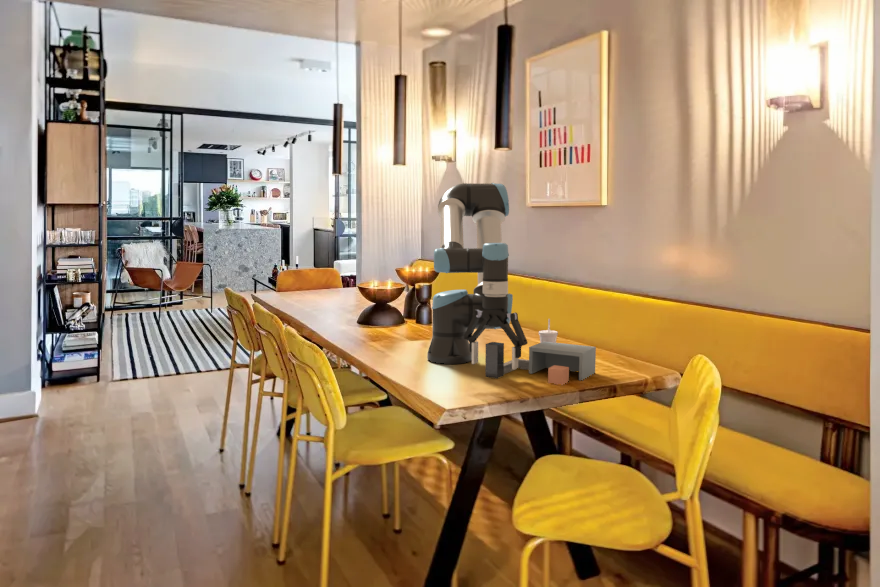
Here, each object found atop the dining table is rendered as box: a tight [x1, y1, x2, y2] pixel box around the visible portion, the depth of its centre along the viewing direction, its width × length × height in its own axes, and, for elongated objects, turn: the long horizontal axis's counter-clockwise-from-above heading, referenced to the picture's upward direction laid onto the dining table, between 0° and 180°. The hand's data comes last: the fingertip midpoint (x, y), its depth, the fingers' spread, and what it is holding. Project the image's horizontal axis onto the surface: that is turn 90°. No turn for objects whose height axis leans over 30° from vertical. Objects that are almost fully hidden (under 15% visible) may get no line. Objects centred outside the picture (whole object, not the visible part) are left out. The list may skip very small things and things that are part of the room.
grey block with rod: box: [484, 341, 529, 380], centre depth 200 cm, size 8×17×10 cm, turn 146°
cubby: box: [528, 342, 597, 381], centre depth 199 cm, size 17×11×8 cm, turn 57°
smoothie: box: [538, 318, 559, 343], centre depth 218 cm, size 6×6×14 cm
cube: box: [547, 365, 570, 386], centre depth 188 cm, size 4×4×4 cm
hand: (494, 365), depth 195 cm, fingers open, 13 cm apart
